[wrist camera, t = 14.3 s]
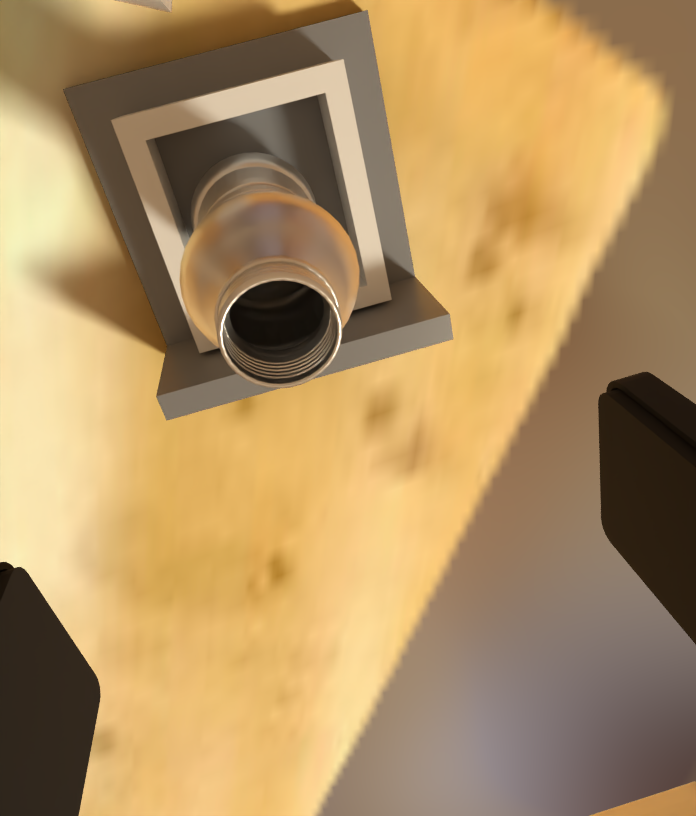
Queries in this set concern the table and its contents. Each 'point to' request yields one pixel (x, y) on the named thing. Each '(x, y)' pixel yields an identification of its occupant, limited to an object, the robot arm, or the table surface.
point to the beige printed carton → (152, 4)
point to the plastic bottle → (267, 271)
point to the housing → (270, 134)
